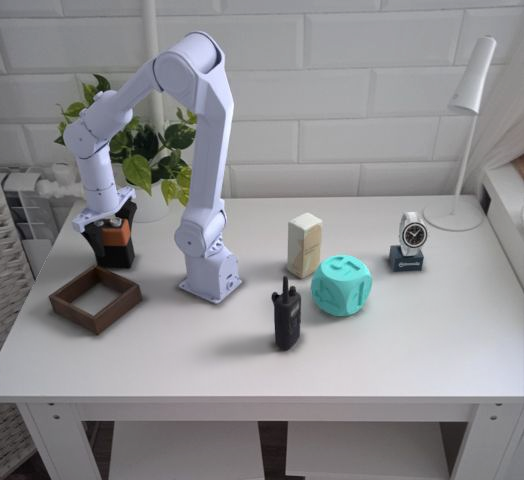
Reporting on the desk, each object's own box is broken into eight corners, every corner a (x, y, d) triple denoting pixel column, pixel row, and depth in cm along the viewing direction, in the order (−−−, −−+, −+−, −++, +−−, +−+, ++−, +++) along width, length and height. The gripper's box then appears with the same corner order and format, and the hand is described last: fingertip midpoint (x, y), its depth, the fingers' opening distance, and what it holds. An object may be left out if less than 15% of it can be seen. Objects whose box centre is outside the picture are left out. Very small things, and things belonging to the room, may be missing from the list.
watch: (395, 278, 119) (402, 229, 111) (387, 253, 125) (393, 205, 117) (424, 276, 119) (433, 227, 111) (414, 251, 125) (423, 203, 117)
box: (301, 279, 119) (302, 230, 112) (286, 269, 122) (286, 221, 114) (320, 268, 122) (323, 219, 114) (305, 258, 124) (307, 210, 116)
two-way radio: (287, 354, 105) (287, 284, 94) (265, 345, 107) (263, 275, 96) (303, 335, 108) (305, 265, 98) (281, 326, 110) (281, 257, 100)
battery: (131, 269, 123) (122, 226, 116) (97, 269, 124) (86, 226, 117) (136, 256, 126) (127, 214, 119) (103, 255, 127) (92, 213, 120)
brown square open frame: (142, 300, 116) (139, 284, 114) (98, 335, 110) (93, 319, 107) (98, 279, 121) (94, 263, 118) (53, 312, 114) (47, 296, 112)
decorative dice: (344, 323, 110) (347, 287, 105) (309, 304, 114) (310, 269, 109) (370, 301, 114) (375, 265, 109) (335, 283, 118) (338, 248, 113)
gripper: (111, 160, 118) (124, 222, 128) (53, 194, 110) (71, 257, 119) (138, 170, 115) (149, 232, 125) (81, 206, 107) (97, 269, 116)
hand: (113, 245), depth 122 cm, fingers closed on battery, 7 cm apart
